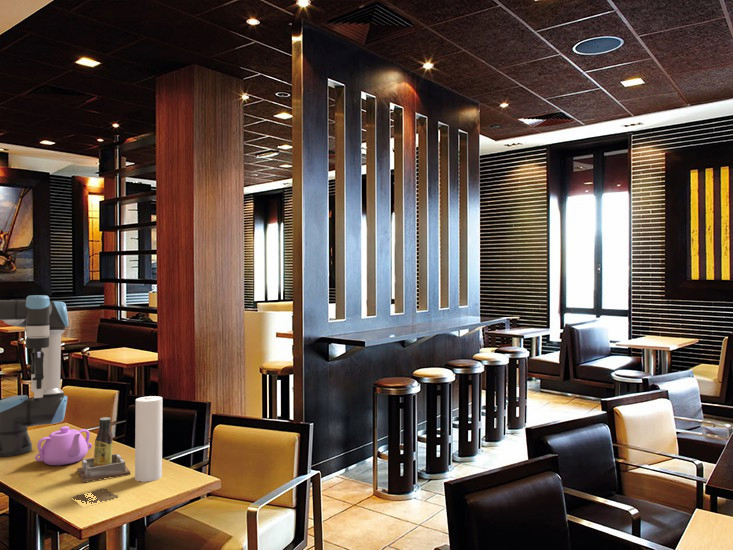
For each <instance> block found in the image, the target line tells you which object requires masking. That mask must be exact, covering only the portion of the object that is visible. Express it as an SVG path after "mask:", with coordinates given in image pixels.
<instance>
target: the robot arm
mask: <svg viewBox="0 0 733 550" xmlns="http://www.w3.org/2000/svg"><path fill="white" fill-rule="evenodd" d="M0 321H3V323H5V324H7V325H9V326H13V327H17V328H23V332H25V337H26V338H25V348H26V349H29V350H30V349H31V352H30V361H31V368H30V371H31V372H30V373H31V381H30V383H31V384H30V385H31V386H30V387H31V388H30V390H31V393H33V398H29V397H28V395H26V394H23V395H21V394H20V395H14V396H10V397H6V398H3V399H0V458H7V457H8V458H9V457H14V456H19V455H23V454H27V453H29V452H31V451H32V449H33V444H32V440H31V438H30V436H29V432H28V427H29V426H31V427H32V426H40V425H41V426H42V425H53V424H58V423H59V424H60V423H62V422H64V419H65V415H66V409H67V404H68V396H67V395H65V392H64V391H63V390H62V389H61V365H62V364H61V361H62V358H61V357H62V356H61V355H62V335H63V334H64V333H65V331H66V328H69V315H68V309H67V305H66V303H65V302H63V301H59V300H58V301H56V300H55V301H54V300H50V297H49V296H48V295H45V294H43V295H42V294H41V295H37V294H35V295H28V296H27V297H26V299H20V300H19V299H16V300H14V299H11V300H9V299H8V300H7V299H6V300H5V299H4V300H3V299H0Z"/></svg>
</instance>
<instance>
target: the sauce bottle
mask: <svg viewBox="0 0 733 550" xmlns="http://www.w3.org/2000/svg"><path fill="white" fill-rule="evenodd" d="M98 420H99V421H98V423H99V426H98V427H99V429H98V432H97V435H96V436H95V439H94V449H93V451H94V453H93V454H94V455H93V458H94V467H97V466H102V465H108V464H112V454H113V444H114V443H113V438H114V437H113V433H112V431H111V422H112V418H111V417H108V416H107V417H106V416H105V417H101V418H99V419H98Z"/></svg>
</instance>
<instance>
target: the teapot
mask: <svg viewBox="0 0 733 550" xmlns="http://www.w3.org/2000/svg"><path fill="white" fill-rule="evenodd" d="M82 433H86V436H85V437H84V436H83V434H82ZM90 437H91V433H90V430H88V429H85V428H83V429H82V428H81V429H79V430H77V429H74V428H70V426H67V425H65V426H62V427H60V428H59V430H55V431H53V432H51V433H50V434H49V435H48V436H43V437H42V438H40V439H39V440H38V441H37V443H36V444H37V451H38V453H37V454H36V455H35V457H34V460H35V461H36V462H41V461H42V462H43V463H44V464H46V465H49V466H62V465H69V464H74V463H77V462H79V461H82V459H85V458H84V457H86V455H87V454H88V451H89V450H90V449H92V446H93V445H92V443H91V442H89V441H90ZM42 442H44V443H43V445H42Z"/></svg>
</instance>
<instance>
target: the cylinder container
mask: <svg viewBox="0 0 733 550" xmlns="http://www.w3.org/2000/svg"><path fill="white" fill-rule="evenodd" d="M134 431H135V432H134V433H135V437H134V438H135V439H134V441H135V442H134V451H135V452H134V480H135V481H136V480H137V482H139V481H141V483H145V482H147V481H148V483H149V482H153V481H157V480H159V479H161V478H162V477H163V397H162V396H159V395H158V396H156V395H154V396H153V395H149V396H141V397H138V398H136V399H135V429H134Z"/></svg>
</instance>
